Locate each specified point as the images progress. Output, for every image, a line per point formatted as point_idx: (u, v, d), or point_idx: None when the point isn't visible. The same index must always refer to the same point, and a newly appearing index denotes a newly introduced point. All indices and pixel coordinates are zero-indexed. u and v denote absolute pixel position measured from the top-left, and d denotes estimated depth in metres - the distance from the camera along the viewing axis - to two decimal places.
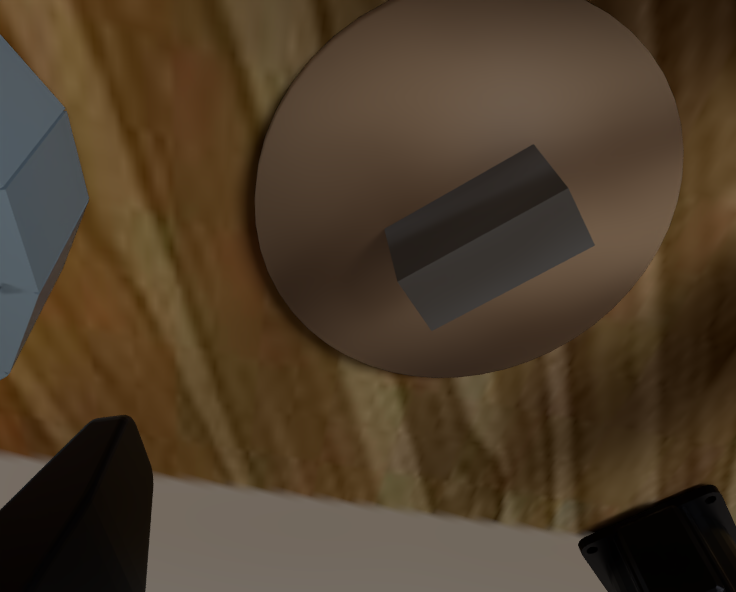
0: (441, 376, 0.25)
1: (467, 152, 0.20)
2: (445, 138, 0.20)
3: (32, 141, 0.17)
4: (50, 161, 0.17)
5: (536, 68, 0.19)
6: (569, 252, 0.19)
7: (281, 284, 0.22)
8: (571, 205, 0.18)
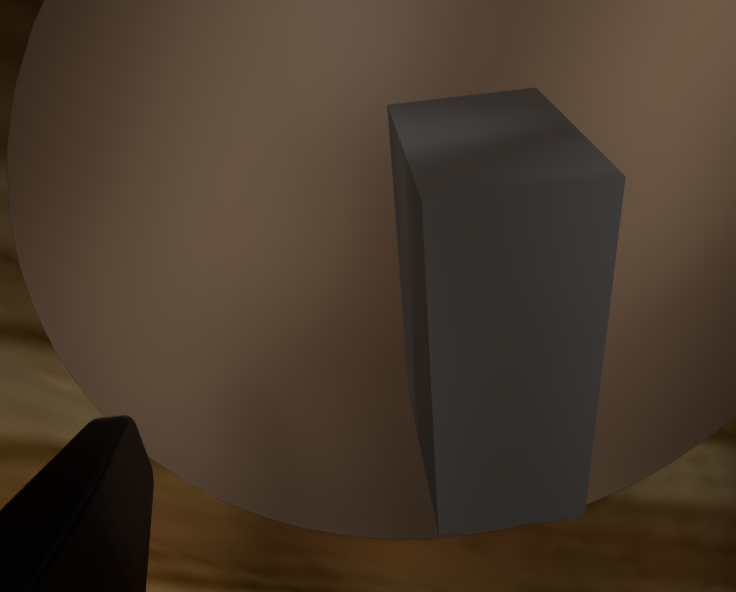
0: None
1: (340, 229, 0.10)
2: (294, 256, 0.10)
3: None
4: None
5: (225, 50, 0.09)
6: (599, 240, 0.07)
7: (414, 533, 0.14)
8: (473, 206, 0.07)
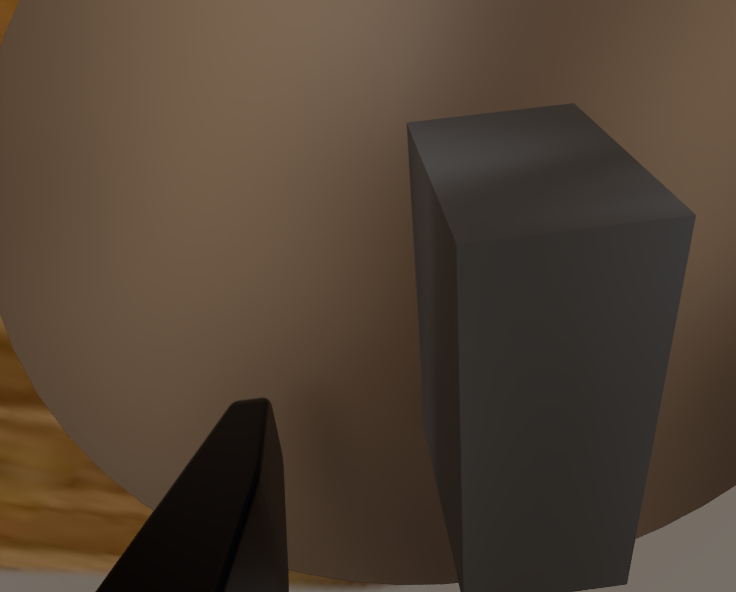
0: None
1: (352, 259, 0.09)
2: (300, 288, 0.09)
3: None
4: None
5: (224, 61, 0.08)
6: (661, 286, 0.06)
7: (427, 577, 0.13)
8: (517, 249, 0.06)
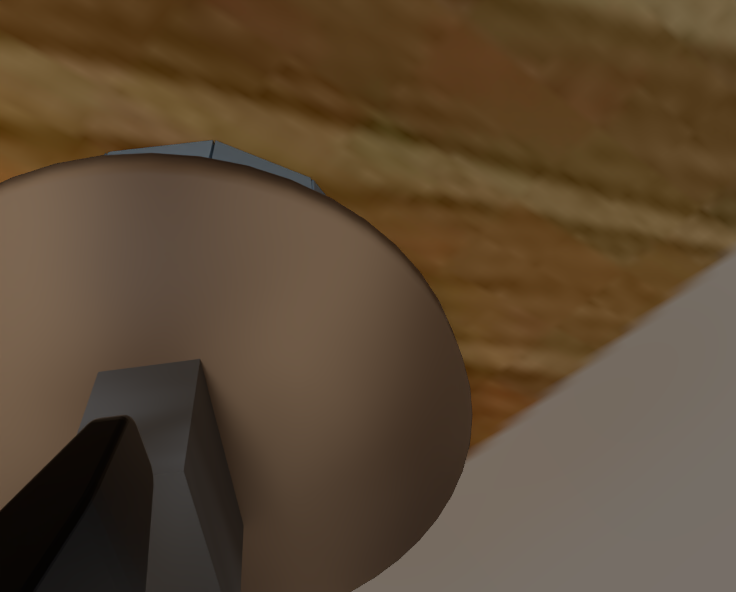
0: (422, 533, 0.17)
1: None
2: (52, 458, 0.15)
3: None
4: None
5: None
6: (180, 501, 0.12)
7: None
8: None
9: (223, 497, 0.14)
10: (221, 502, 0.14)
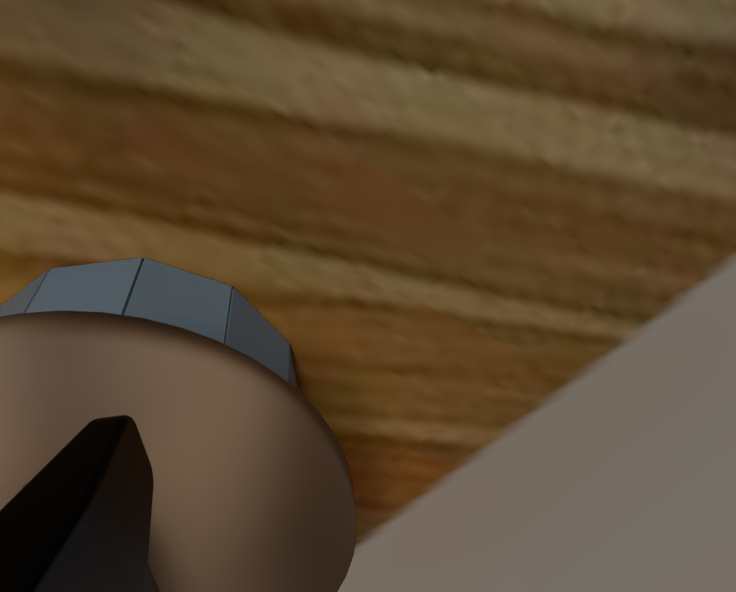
0: None
1: None
2: None
3: (118, 310, 0.18)
4: (151, 304, 0.18)
5: None
6: None
7: None
8: None
9: None
10: None
